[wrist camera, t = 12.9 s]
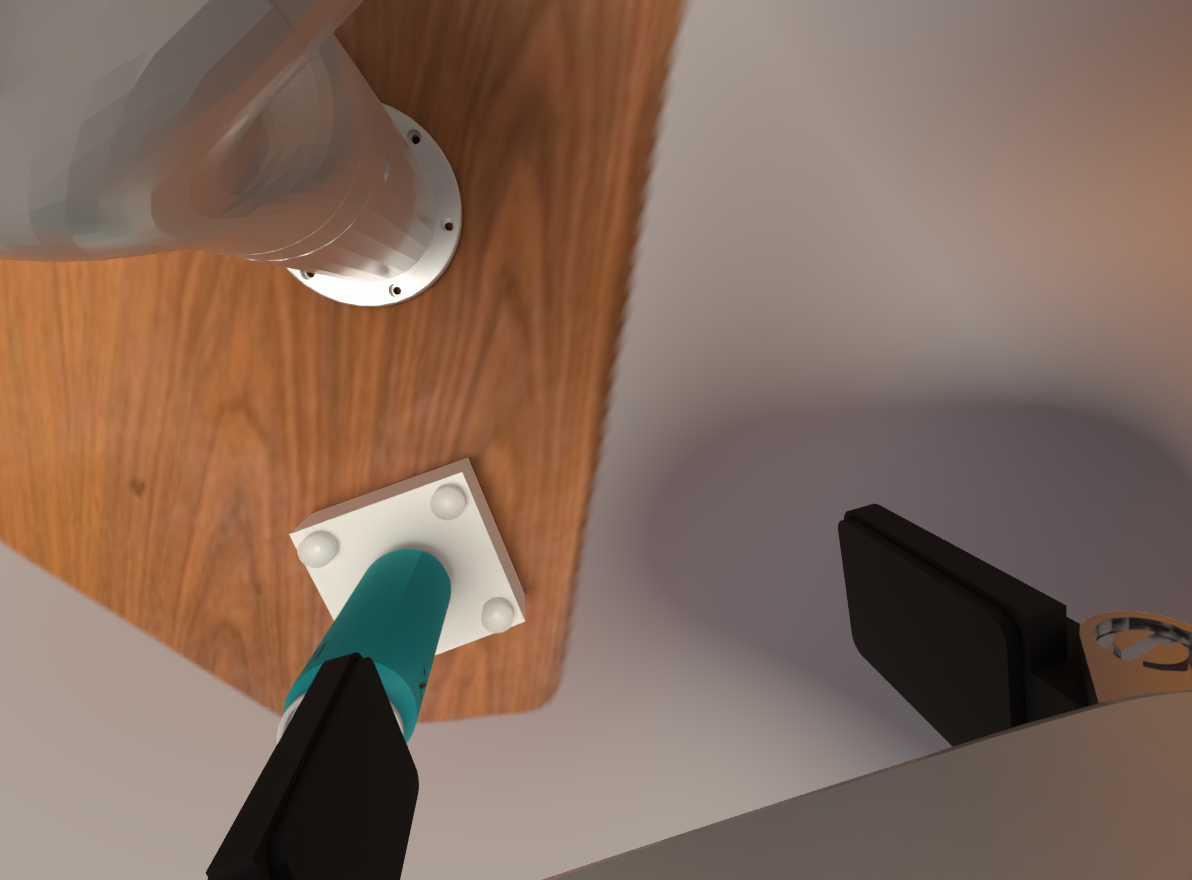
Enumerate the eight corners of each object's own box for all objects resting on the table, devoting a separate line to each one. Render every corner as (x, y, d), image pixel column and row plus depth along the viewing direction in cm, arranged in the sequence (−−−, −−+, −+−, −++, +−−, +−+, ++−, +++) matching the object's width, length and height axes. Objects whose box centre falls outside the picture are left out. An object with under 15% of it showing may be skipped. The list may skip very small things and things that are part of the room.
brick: (311, 513, 40) (282, 540, 35) (468, 457, 41) (460, 476, 36) (380, 648, 43) (361, 690, 38) (525, 594, 44) (525, 629, 39)
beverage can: (356, 601, 38) (250, 778, 23) (385, 527, 37) (292, 663, 22) (437, 626, 39) (384, 810, 24) (467, 555, 38) (429, 702, 23)
